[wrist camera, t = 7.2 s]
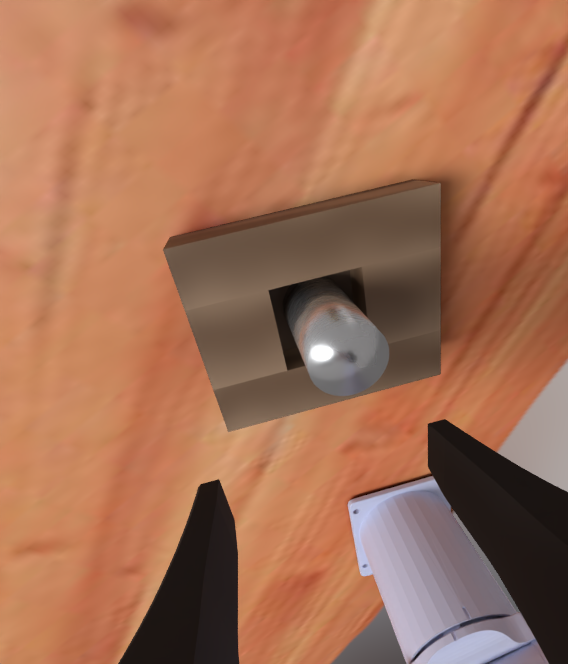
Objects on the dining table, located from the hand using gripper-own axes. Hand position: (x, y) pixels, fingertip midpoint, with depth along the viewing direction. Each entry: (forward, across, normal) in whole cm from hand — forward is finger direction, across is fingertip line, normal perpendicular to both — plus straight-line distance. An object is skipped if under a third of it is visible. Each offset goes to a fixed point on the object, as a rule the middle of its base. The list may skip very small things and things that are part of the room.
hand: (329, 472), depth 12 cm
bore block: (+9, -2, -2) cm, 10 cm away
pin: (+9, -2, -2) cm, 9 cm away
